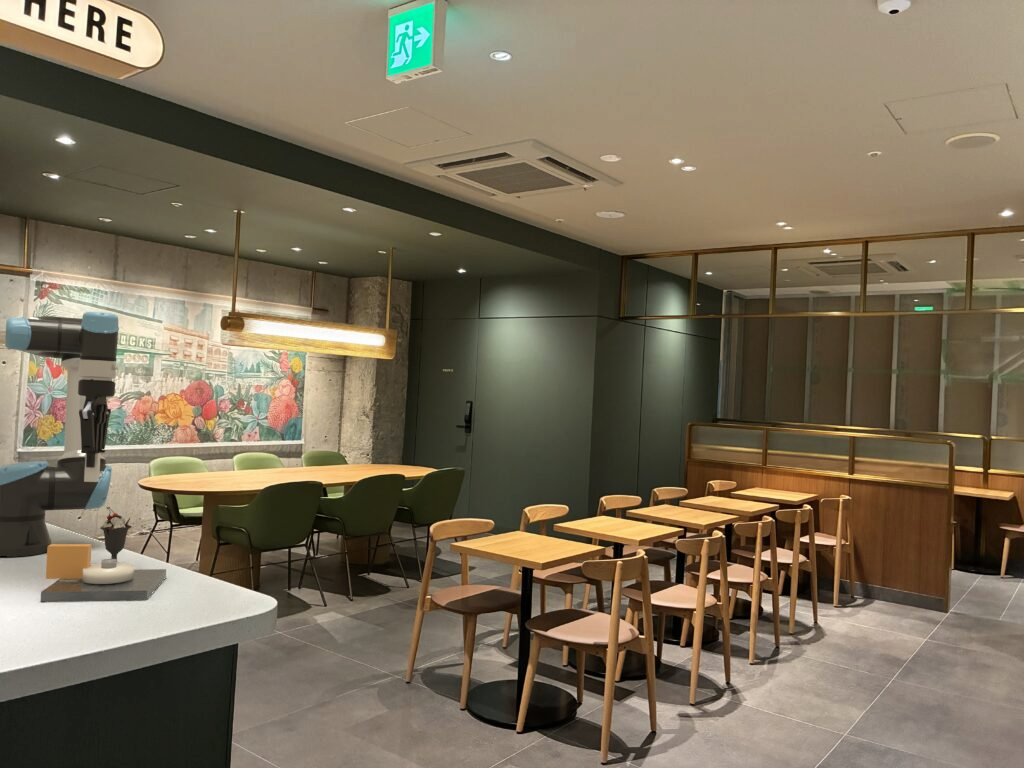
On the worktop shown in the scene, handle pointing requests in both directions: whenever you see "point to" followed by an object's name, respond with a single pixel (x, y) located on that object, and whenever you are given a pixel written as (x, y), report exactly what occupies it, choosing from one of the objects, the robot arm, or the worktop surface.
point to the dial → (84, 565)
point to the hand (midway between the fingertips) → (91, 481)
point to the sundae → (115, 533)
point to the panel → (106, 588)
